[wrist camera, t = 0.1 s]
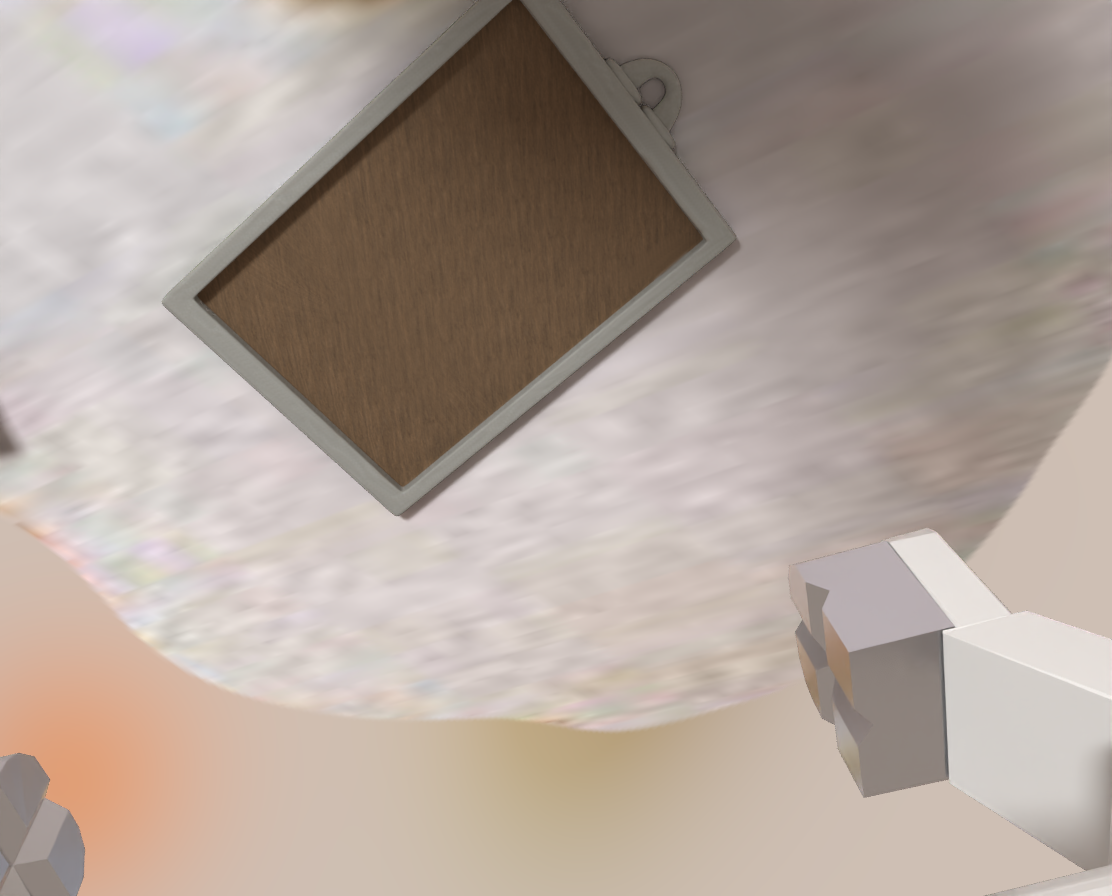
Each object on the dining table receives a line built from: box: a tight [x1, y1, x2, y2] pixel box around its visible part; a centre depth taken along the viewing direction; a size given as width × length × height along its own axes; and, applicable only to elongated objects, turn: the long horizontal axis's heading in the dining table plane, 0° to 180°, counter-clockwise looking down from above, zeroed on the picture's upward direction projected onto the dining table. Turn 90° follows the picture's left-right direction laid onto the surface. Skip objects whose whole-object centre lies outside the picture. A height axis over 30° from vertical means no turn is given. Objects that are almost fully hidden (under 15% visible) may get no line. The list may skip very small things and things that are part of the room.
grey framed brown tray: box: [162, 0, 736, 516], centre depth 56 cm, size 19×2×30 cm
